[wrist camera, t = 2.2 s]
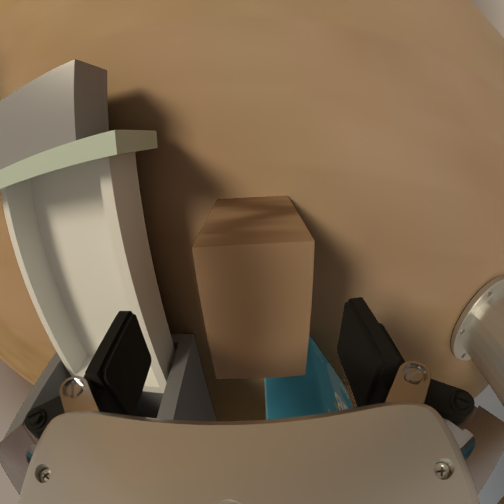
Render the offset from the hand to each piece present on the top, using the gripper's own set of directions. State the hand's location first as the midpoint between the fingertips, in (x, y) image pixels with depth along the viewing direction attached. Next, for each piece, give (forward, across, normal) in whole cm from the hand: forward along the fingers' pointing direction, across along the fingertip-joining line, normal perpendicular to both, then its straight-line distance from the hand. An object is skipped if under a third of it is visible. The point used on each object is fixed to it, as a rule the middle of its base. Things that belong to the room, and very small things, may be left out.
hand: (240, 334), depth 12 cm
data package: (+10, -6, +14) cm, 18 cm away
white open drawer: (+9, +12, -2) cm, 15 cm away
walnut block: (+10, -1, 0) cm, 10 cm away
